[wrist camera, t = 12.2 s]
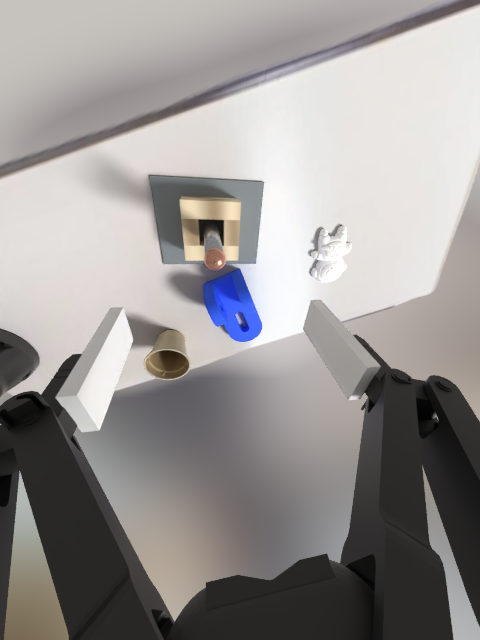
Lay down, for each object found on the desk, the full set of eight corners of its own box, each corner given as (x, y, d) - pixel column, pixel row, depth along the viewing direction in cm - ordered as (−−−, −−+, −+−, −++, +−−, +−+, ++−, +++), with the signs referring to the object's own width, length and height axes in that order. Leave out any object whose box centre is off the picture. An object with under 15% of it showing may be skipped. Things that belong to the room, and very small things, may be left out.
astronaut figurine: (354, 223, 42) (364, 227, 40) (341, 278, 50) (348, 284, 47) (313, 227, 42) (320, 231, 39) (305, 283, 49) (311, 289, 46)
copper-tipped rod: (203, 233, 38) (204, 274, 25) (202, 217, 37) (203, 252, 23) (217, 233, 39) (226, 274, 25) (217, 218, 37) (227, 252, 24)
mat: (164, 263, 41) (163, 264, 41) (150, 175, 33) (149, 175, 32) (255, 263, 44) (255, 263, 43) (263, 181, 35) (263, 182, 35)
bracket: (203, 283, 45) (204, 306, 38) (239, 268, 44) (247, 288, 37) (234, 340, 55) (239, 366, 48) (264, 329, 55) (273, 354, 48)
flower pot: (160, 317, 48) (154, 343, 41) (198, 332, 52) (198, 358, 45) (145, 345, 52) (136, 373, 45) (181, 357, 56) (178, 384, 49)
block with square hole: (186, 251, 40) (185, 260, 36) (181, 195, 35) (179, 199, 31) (234, 251, 41) (238, 260, 37) (236, 198, 36) (241, 202, 32)
